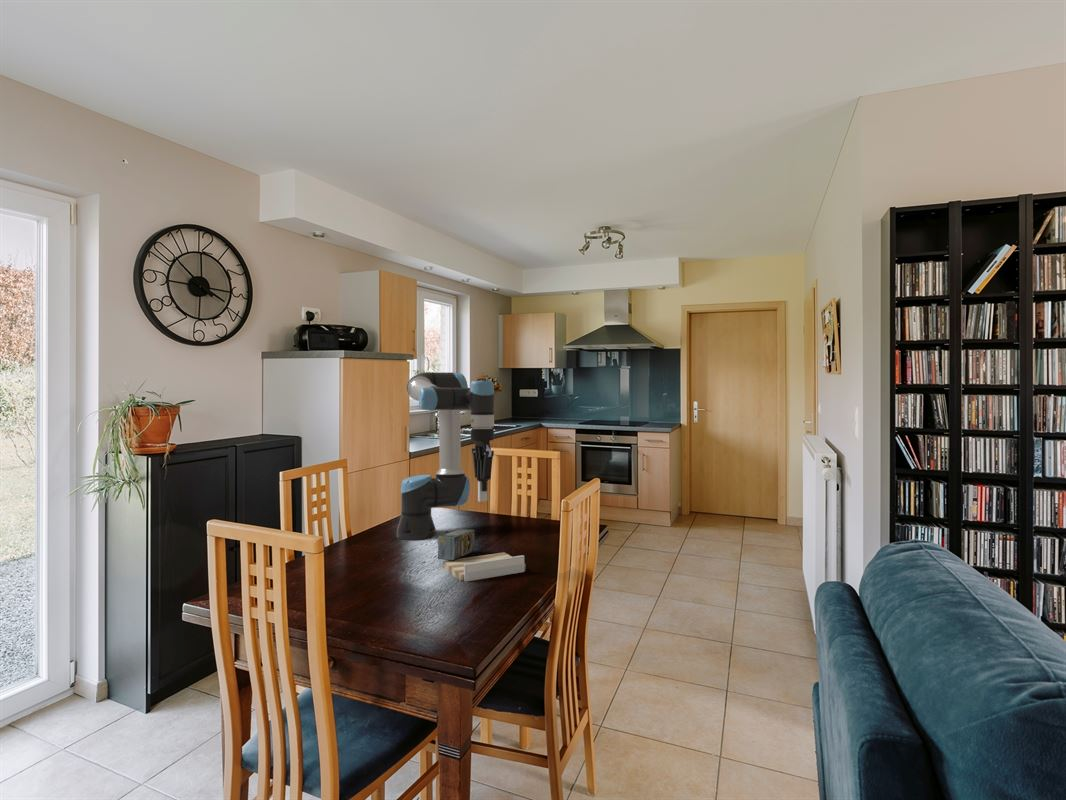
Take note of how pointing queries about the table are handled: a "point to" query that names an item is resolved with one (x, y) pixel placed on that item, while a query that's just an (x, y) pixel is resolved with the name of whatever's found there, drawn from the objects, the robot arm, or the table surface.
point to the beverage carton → (455, 544)
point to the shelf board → (458, 564)
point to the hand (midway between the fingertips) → (482, 500)
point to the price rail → (493, 568)
